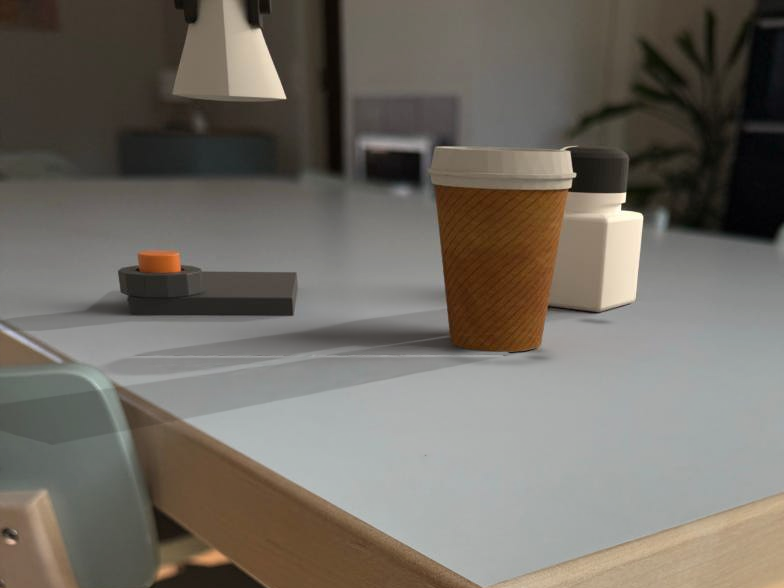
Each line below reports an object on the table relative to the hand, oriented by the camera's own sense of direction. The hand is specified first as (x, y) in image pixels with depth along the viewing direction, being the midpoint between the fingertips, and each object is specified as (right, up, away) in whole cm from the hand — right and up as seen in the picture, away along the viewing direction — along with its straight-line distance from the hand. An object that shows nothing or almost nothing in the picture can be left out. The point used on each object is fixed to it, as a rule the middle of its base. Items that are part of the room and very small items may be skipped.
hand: (224, 22), depth 66 cm
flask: (0, -4, +2) cm, 5 cm away
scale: (-4, -14, +14) cm, 20 cm away
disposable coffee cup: (+18, -21, +2) cm, 28 cm away
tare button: (-7, -14, +8) cm, 18 cm away
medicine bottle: (+26, -13, +18) cm, 34 cm away
